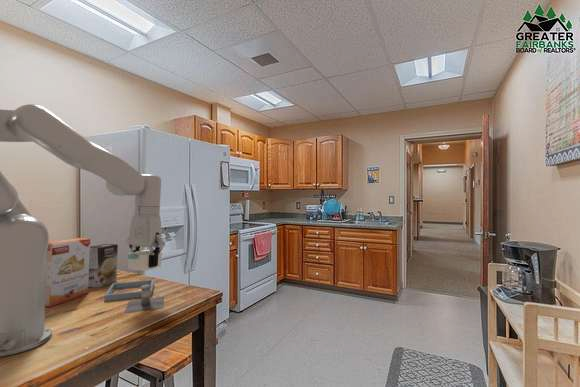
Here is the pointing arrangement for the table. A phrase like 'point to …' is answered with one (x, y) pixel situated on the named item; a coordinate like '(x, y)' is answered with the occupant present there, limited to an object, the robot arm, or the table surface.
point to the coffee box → (102, 265)
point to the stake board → (143, 308)
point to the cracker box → (66, 270)
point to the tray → (126, 285)
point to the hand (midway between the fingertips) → (144, 265)
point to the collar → (141, 260)
